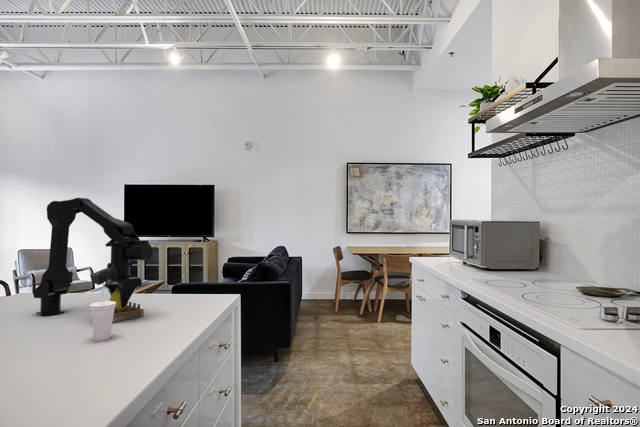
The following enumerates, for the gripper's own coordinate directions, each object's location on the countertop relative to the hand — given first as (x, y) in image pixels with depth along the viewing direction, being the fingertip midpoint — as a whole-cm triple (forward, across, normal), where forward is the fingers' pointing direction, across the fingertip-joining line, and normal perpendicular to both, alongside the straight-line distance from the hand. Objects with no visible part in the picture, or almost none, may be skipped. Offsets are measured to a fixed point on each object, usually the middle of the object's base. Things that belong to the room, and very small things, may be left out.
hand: (119, 305), depth 119 cm
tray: (+4, 0, 0) cm, 4 cm away
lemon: (+2, 0, 0) cm, 2 cm away
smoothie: (+4, +19, -13) cm, 23 cm away
